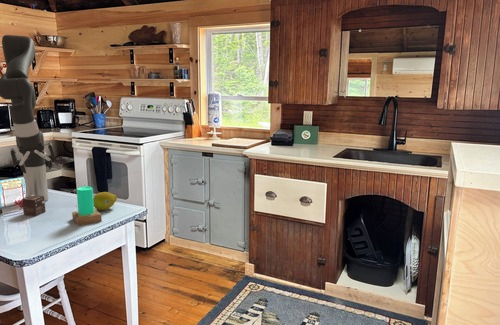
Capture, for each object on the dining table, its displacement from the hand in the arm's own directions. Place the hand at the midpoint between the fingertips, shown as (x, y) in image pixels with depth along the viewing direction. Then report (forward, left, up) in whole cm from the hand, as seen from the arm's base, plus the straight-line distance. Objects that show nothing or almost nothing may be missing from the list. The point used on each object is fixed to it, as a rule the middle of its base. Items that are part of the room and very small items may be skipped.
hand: (37, 170), depth 147 cm
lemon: (-4, +25, -22) cm, 34 cm away
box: (-15, -1, -22) cm, 27 cm away
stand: (+5, +15, -22) cm, 27 cm away
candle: (+5, +15, -19) cm, 25 cm away
